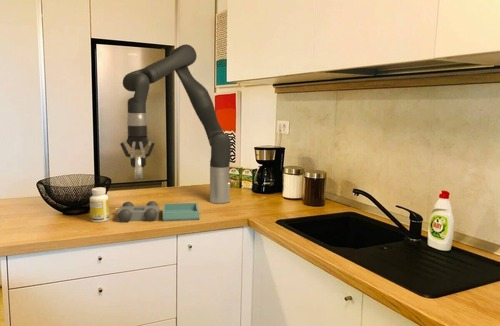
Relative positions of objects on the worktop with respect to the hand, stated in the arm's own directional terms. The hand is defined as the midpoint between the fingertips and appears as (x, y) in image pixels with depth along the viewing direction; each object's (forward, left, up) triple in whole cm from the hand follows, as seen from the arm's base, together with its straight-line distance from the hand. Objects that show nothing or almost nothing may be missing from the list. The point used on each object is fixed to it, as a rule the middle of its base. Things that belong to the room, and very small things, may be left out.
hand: (138, 166), depth 167 cm
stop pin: (0, 0, -5) cm, 5 cm away
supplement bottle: (+15, +2, -21) cm, 26 cm away
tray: (-17, 0, -21) cm, 27 cm away
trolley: (+1, 0, -21) cm, 21 cm away
